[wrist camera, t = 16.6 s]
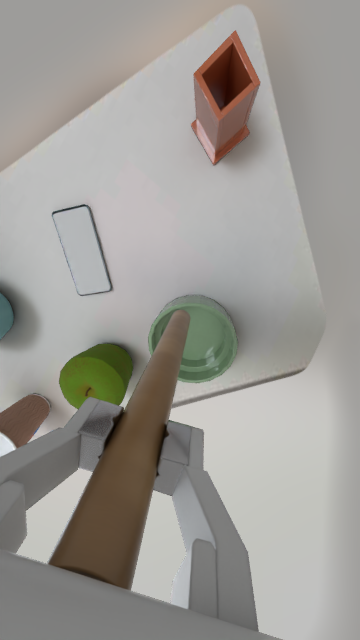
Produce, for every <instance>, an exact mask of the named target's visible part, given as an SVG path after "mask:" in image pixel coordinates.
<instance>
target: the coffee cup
mask: <svg viewBox="0 0 360 640" xmlns="http://www.w3.org/2000/svg"><path fill="white" fill-rule="evenodd" d="M50 410H51V407H50V404H49V402H48V401H47V399H45V398H44V397H43V396H41V395H38V394H30V395H28V396H26V397H24V398H22V399H21V400H19V401H18V402H16V403H15V404H13V405H12V406H10V407H9V408H7V409H6V410H4V411H3V412H1V413H0V457H1V456H3V455H5V454H7V453H9V452H11V451H13V450H15V449H17V448H19V447H21V446H23V445H25V444H27V442H28V441H29V440H30V439H31V438H32V436H33V435H34V434H35V433H36V431H37V430H38V429H39V427H40V425H41V424H42V422H43V421H44V420H45V418H46V417H47V416H48V414H49V412H50Z"/></svg>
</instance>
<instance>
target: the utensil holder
mask: <svg viewBox="0 0 360 640" xmlns="http://www.w3.org/2000/svg"><path fill="white" fill-rule="evenodd" d="M259 86H260V81H259V78H258V76H257V74H256V72H255V70H254V68H253V66H252V64H251V62H250V60H249V57H248V55H247V53H246V51H245V49H244V47H243V45H242V43H241V41H240V38H239V36H238V34H237V32H236V30H235V31H234V32H233V33H232V34H231V35H230V36H229V37H228V38H227V39H226V40H225V41H224V42H223V44H222V45H221V46H220V47H219V48H218V49H217V50H216V51H215V52H214V53H213V54H212V55H211V56H210V57H209V58H208V59H207V60H206V61H205V62H204V63H203V64H202V66H201V67H200V68H199V69H198V70H197V71H196V72H195V73H194V90H195V106H196V120H195V121H194V122H193V123H192V124H191V127H192V129H193V131H194V132H195V134H196V136H197V138H198V139H199V141H200V143H201V145H202V146H203V148H204V150H205V152H206V153H207V155H208V157H209V159H210V160H211V162H212V164H213V165H215V164H216V163H217V162H218V161H219V160H220V159H222V158H223V157H224V156H225V155H226V154H227V153H229V152H230V151H231V150H232V149H233V148H234V147H236V146H237V145H238V144H239V143H240V142H241V141H242V140H244V139H245V138H246V137H247V136H248V135H249V134H250V132H249V130H248V128H247V126H246V124H247V121H248V118H249V115H250V112H251V109H252V106H253V103H254V100H255V98H256V95H257V92H258V89H259Z"/></svg>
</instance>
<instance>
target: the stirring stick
mask: <svg viewBox="0 0 360 640" xmlns="http://www.w3.org/2000/svg"><path fill="white" fill-rule="evenodd" d="M190 321H191V318H190V315H189V313H188V312H186V311H184V310H177V311H175V312H174V313H173V315H172V317H171V319H170V321H169V323H168V325H167V327H166V329H165V331H164V333H163V335H162V337H161V339H160V341H159V343H158V344H157V346H156V348H155V350H154V352H153V354H152V356H151V358H150V360H149V362H148V364H147V366H146V368H145V370H144V372H143V374H142V376H141V378H140V380H139V382H138V384H137V386H136V388H135V390H134V392H133V394H132V396H131V398H130V400H129V402H128V404H127V406H126V408H125V410H124V412H123V414H122V416H121V418H120V420H119V422H118V424H117V426H116V428H115V429H114V431H113V433H112V436H111V438H110V440H109V442H108V444H107V446H106V448H105V450H104V452H103V453H102V455H101V457H100V459H99V461H98V463H97V465H96V467H95V469H94V471H93V473H92V475H91V477H90V479H89V481H88V483H87V485H86V487H85V489H84V491H83V493H82V495H81V497H80V499H79V501H78V503H77V505H76V507H75V508H74V510H73V512H72V514H71V516H70V518H69V520H68V522H67V524H66V526H65V528H64V530H63V532H62V534H61V536H60V538H59V540H58V542H57V544H56V546H55V548H54V550H53V552H52V554H51V556H50V558H49V560H48V562H47V564H49V565H53V566H56V567H59V568H62V569H65V570H68V571H71V572H74V573H77V574H80V575H84V576H87V577H90V578H93V579H96V580H99V581H102V582H105V583H108V584H111V585H115V586H118V587H121V588H124V589H127V590H130V591H131V587H132V583H133V578H134V574H135V569H136V565H137V560H138V555H139V551H140V546H141V542H142V538H143V533H144V528H145V524H146V519H147V515H148V510H149V506H150V501H151V497H152V492H153V488H154V483H155V479H156V474H157V465H158V461H159V456H160V452H161V448H162V445H163V438H164V434H165V430H166V426H167V422H168V420H169V416H170V411H171V406H172V402H173V397H174V393H175V388H176V384H177V379H178V375H179V370H180V366H181V361H182V357H183V352H184V348H185V343H186V339H187V334H188V330H189V325H190Z"/></svg>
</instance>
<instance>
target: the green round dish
mask: <svg viewBox="0 0 360 640" xmlns="http://www.w3.org/2000/svg"><path fill="white" fill-rule="evenodd" d="M177 310H184V311H186V312H188V313H189V315H190V318H191V321H190V325H189V330H188V334H187V339H186V343H185V348H184V352H183V357H182V361H181V366H180V370H179V375H178V379H177V380H179V381H182V382H188V383H201V382H206V381H211V380H212V379H214V378H216V377H218V376H220V375H222V374H223V373H224V372H225V371H226V370H227V369H228V368H229V367H230V366H231V364H232V362H233V360H234V358H235V356H236V353H237V344H238V341H237V337H236V333H235V329H234V326H233V324H232V321H231V318H230V317H229V315H228V314H227V312H226V311H225V309H224V308H223V307H222V306H221V305H219V304H218V303H217V302H215V301H214V300H212V299H209V298H206V297H203V296H194V295H187V296H184V297H180V298H177V299H175V300H173V301H172V302H170V303H169V304H167V305H166V306H165V307H164V308H163V310H162V311H161V312H160V314H159V315H158V317H157V318H156V320H155V321H154V323H153V324H152V326H151V329H150V333H149V336H148V343H149V351H150V354H151V356H152V354H153V352H154V350H155V348H156V346H157V344H158V343H159V341H160V339H161V337H162V335H163V333H164V331H165V329H166V327H167V325H168V323H169V321H170V319H171V317H172V315H173V313H174V312H175V311H177Z"/></svg>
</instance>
